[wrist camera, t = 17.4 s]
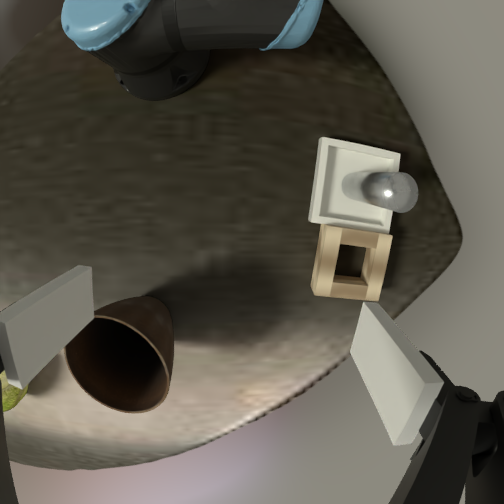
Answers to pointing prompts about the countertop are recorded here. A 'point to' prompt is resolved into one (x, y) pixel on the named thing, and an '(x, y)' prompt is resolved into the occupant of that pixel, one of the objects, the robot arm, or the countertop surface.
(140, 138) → the countertop surface
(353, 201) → the tray
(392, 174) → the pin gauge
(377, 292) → the beige square frame
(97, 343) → the plant pot
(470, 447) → the robot arm
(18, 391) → the lettuce
